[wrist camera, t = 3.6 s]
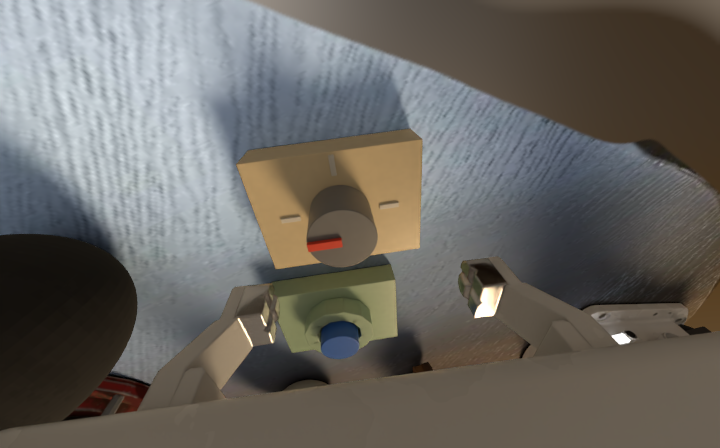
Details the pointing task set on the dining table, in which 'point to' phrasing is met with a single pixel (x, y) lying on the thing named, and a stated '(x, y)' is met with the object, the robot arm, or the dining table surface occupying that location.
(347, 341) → the button
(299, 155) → the dial panel
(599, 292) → the dining table surface
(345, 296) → the button housing
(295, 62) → the dining table surface
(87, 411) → the hourglass
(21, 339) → the decorative egg
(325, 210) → the dial
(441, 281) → the dining table surface
